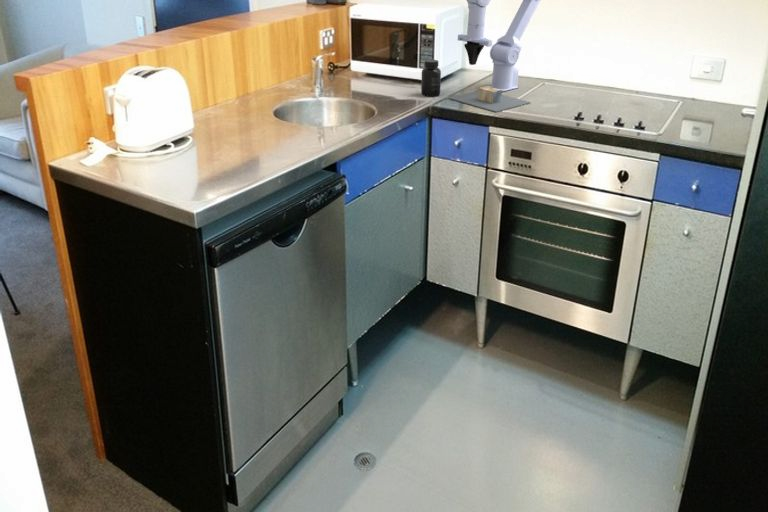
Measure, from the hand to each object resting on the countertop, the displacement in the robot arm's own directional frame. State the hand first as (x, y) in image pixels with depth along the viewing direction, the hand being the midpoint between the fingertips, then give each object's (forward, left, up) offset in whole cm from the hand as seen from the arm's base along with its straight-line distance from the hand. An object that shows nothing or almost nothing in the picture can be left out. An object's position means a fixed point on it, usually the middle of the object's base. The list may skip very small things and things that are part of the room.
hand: (472, 64), depth 252 cm
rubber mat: (+2, +11, -10) cm, 15 cm away
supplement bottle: (+12, -8, -11) cm, 18 cm away
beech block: (+3, +8, -8) cm, 12 cm away
